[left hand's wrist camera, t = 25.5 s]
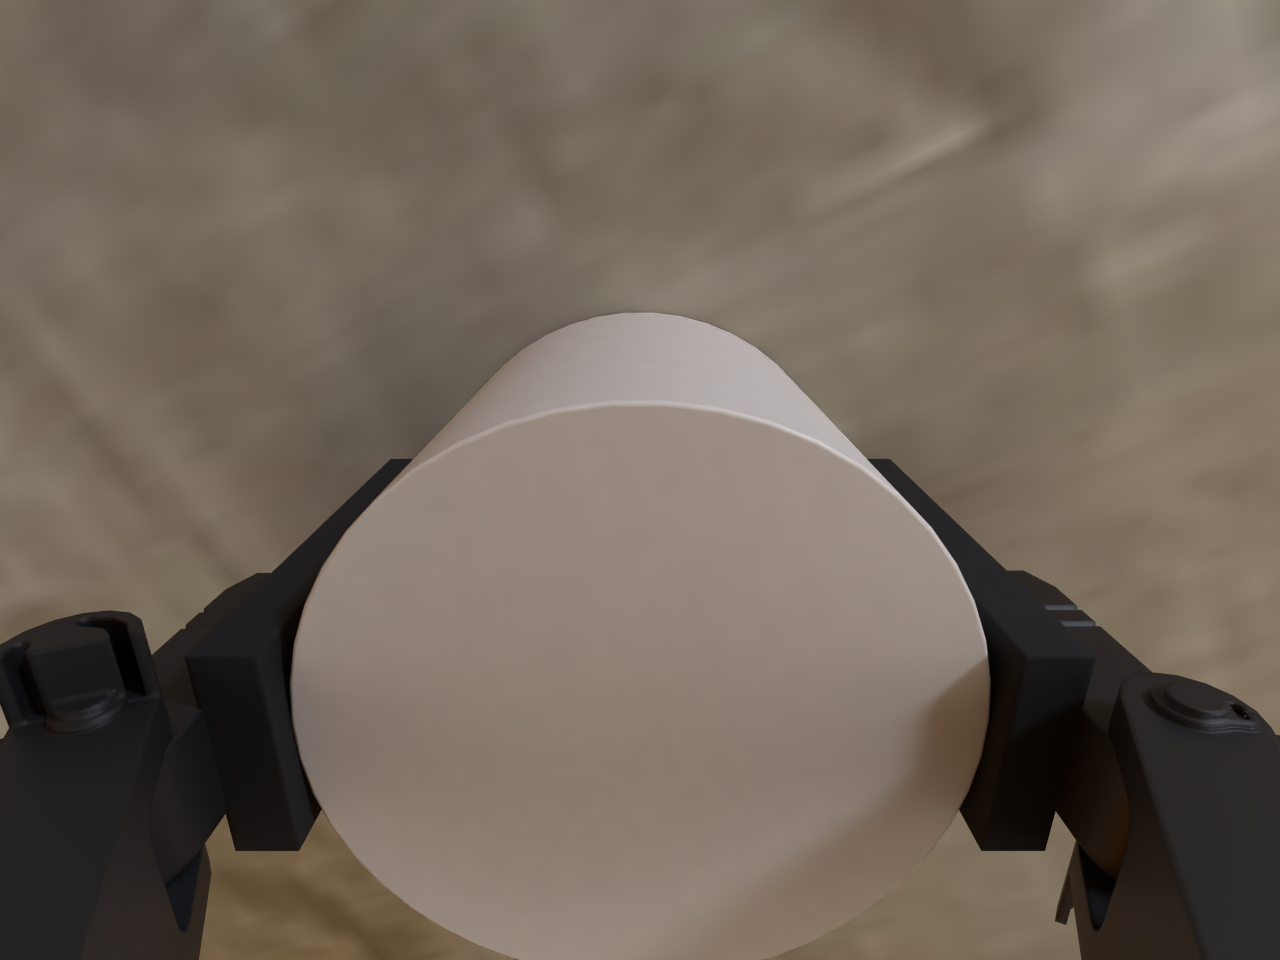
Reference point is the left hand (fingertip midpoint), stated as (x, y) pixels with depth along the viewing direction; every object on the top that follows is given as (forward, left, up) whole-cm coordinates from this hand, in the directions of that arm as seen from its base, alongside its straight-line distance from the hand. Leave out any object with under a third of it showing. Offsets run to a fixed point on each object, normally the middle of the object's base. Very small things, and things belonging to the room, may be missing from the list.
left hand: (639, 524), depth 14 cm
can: (0, 0, -1) cm, 1 cm away
